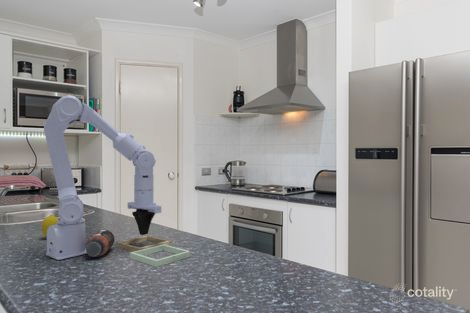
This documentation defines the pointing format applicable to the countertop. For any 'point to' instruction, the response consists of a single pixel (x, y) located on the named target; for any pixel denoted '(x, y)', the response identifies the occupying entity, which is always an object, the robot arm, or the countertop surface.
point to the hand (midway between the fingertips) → (143, 234)
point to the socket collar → (127, 246)
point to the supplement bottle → (99, 243)
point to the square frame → (178, 256)
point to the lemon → (48, 223)
